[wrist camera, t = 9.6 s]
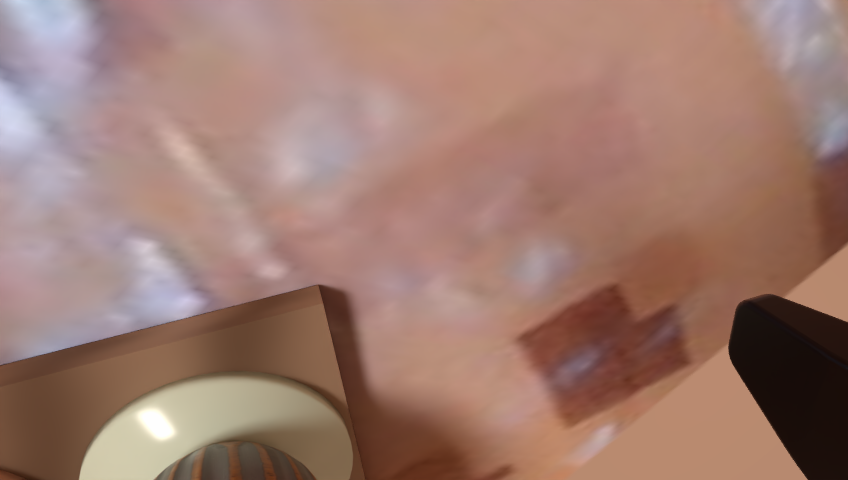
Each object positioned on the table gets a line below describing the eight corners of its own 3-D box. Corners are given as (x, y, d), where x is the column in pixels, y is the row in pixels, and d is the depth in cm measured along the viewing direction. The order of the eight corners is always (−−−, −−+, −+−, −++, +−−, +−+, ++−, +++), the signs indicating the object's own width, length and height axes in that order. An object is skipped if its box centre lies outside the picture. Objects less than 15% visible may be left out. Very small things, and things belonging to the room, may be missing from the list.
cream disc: (325, 340, 22) (328, 352, 22) (366, 506, 27) (369, 519, 27) (32, 418, 21) (28, 434, 20) (134, 579, 26) (133, 594, 25)
